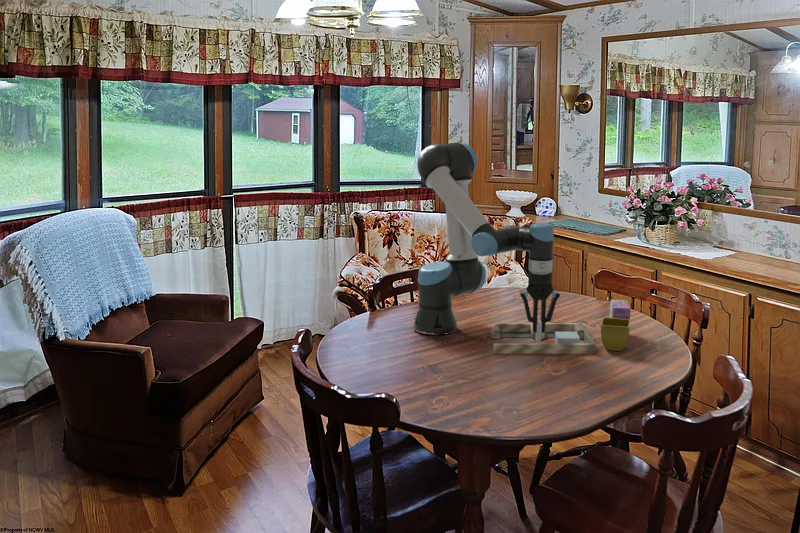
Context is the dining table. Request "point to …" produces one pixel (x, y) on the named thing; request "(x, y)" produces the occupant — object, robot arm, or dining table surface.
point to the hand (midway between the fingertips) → (538, 341)
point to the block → (567, 338)
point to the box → (620, 310)
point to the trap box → (550, 328)
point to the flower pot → (614, 333)
